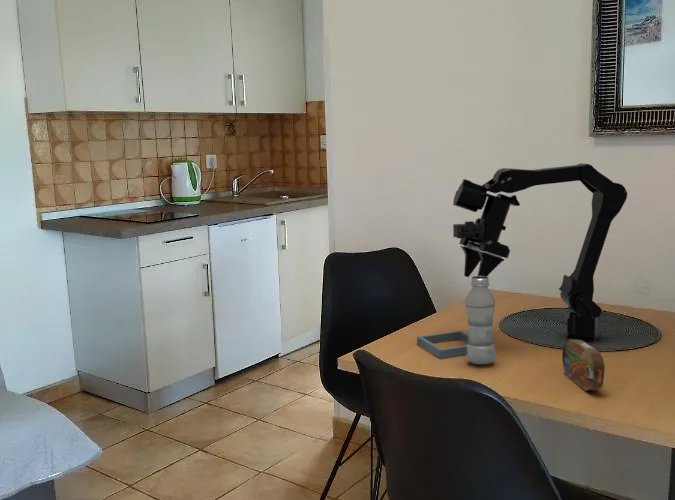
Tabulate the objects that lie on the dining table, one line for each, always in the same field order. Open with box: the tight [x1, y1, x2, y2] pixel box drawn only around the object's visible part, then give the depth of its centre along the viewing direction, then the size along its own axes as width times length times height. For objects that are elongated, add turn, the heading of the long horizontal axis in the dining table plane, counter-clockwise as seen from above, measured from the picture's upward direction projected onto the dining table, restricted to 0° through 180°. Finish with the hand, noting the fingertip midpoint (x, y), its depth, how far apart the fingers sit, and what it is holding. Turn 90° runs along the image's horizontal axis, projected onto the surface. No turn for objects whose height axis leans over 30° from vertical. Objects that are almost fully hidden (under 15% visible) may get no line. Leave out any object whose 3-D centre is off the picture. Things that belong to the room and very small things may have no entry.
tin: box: [561, 338, 606, 392], centre depth 138 cm, size 15×3×8 cm, turn 4°
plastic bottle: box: [464, 275, 497, 366], centre depth 151 cm, size 6×7×20 cm
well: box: [416, 329, 468, 360], centre depth 165 cm, size 12×12×2 cm
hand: (472, 279), depth 164 cm, fingers open, 9 cm apart
